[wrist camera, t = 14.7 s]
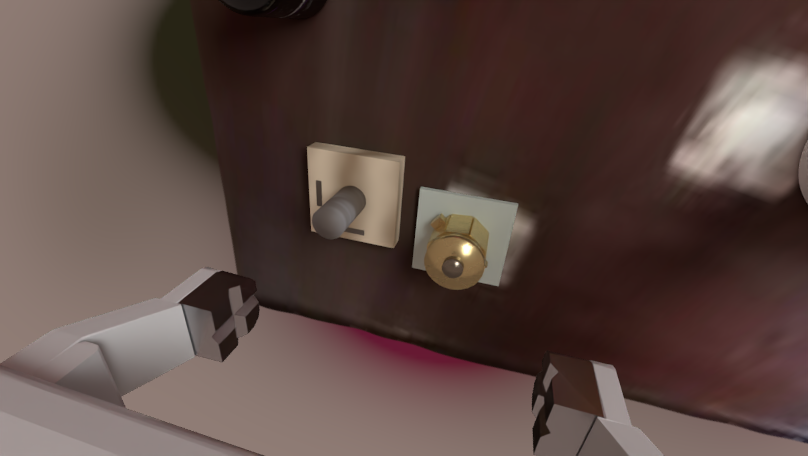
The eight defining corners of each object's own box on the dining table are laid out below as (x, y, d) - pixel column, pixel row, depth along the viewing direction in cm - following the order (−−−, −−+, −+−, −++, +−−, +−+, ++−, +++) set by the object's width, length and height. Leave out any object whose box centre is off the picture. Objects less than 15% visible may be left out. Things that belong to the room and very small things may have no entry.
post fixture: (405, 156, 39) (380, 183, 32) (398, 239, 44) (376, 278, 37) (315, 142, 41) (274, 165, 34) (319, 223, 46) (283, 257, 39)
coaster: (518, 203, 38) (518, 205, 38) (498, 283, 43) (498, 286, 42) (421, 186, 40) (420, 188, 40) (413, 264, 45) (411, 267, 44)
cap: (457, 198, 39) (448, 224, 34) (504, 249, 40) (502, 281, 35) (418, 229, 42) (404, 257, 37) (463, 275, 43) (455, 309, 38)
